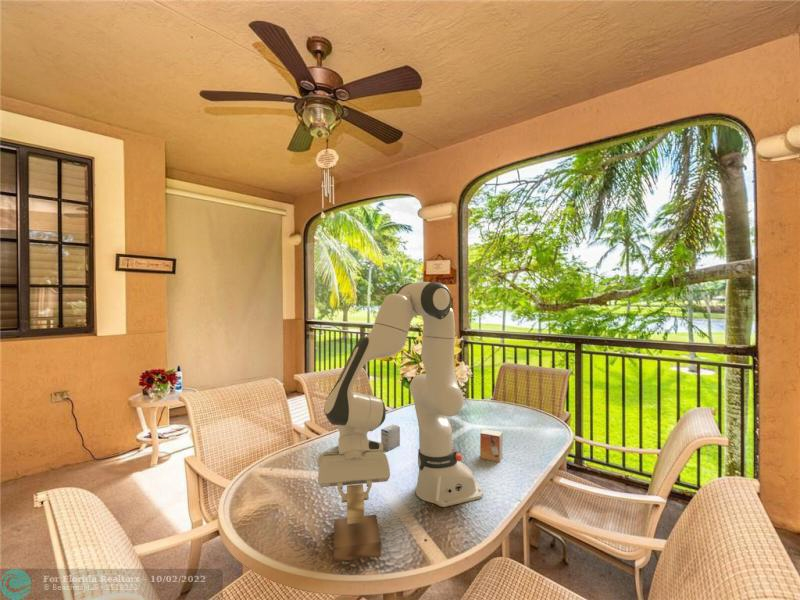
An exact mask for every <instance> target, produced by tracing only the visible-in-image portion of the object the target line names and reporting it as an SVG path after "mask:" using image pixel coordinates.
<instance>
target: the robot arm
mask: <svg viewBox="0 0 800 600" xmlns="http://www.w3.org/2000/svg"><path fill="white" fill-rule="evenodd" d="M378 309H379V310H378V311H377V314H376V317H375V319H374V323H373V326H372V328H371V330H370V331H369V333H367V335H366V336H365V337H361V338H360V339H358V341H357V342H356V344H355V345H354V347H353V349H352V351H351V353H350V355H349V356H348V359H347V360H346V362H345V365H344V367H343V369H342V371H341V373H340V375H339V376H338V379H337V381H336V383H335V384H334V386H333V388H332V390H331V391H330V393H329V394H328V396H327V398H326V400H325V402H324V405H323V413H324V415H325V418H326V419H327V421H328V422H329V423H330V424H332V425H333V426H337V427H338V428H337V429H338V432H339V437H338V439H337V440H338V445H337V446H338V450H334V451H329V452H327V451H324V452H322V454H321V453H320V454H319V456H318V458H317V462H316V463H317V467H318V475H317V484H318V486H319V487H320V488H330V487H336V489H337V492H338V493H339V495H340V496H341V503H347V492H346V493H344V491H343V486H347V485H359V484H366V485H365V487H366V490H365V491H364V501H369V497H370V495H369V493H370V491H371V489H372V485H373V483H386V482H388V481H389V479H390V477H391V472H390V470H391V469H390V465H389V460H388V457H387V455H386V453H385V452H384V449H383V444H382V443H381V442H379V441H375V440H371V439H368V433H369V432H373V431H375V430H376V429H378V428H380V426H381V425H382V424H383V423H384V422H385V420H386V415H387V412H386V406H385V402H384V401H383V399H382V398H380V397H378V396H374V395H370V394H364V393H361V392H360V393H359V392H356V391H353V390H354V389H353V388H354V387H355V384H356V383H357V381H358V378H359V376H360V374H361V372H362V370H363V368H364V366H365V365H366V364H367V363H369V362H370V361H372V360H377V359H382V358H383V359H384V358H389V357H392V356H395V355H397V354H398V353H400V352H401V351H402V350H403V349H404V347H405V344H406V341H407V338H408V335H409V331H410V327H411V322H412V320H413V319H414V318H415V316H420V317H421V319H422V320H423V329H422V338H421V339H422V341H421V354H420V356H421V357H420V358H421V362H422V365H423V367H424V372H425V373H420V374H417V375H415V376H414V377H413V378H412V379H411V381H410V384H409V392H410V394H411V396H412V399H413V404H414V409H415V413H416V418H417V423H418V437H419V438H418V440H419V445H418V446H419V448H418V451H417V452H418V453H417V464H418V476H417V483H416V487H415V489H414V491H415V492H414V493H415V494H416V496H417V497H418V498H419V499H421V500H422V501H426V502H428V503H432V504H434V505H436V506H439V507H442V508H447V507H449V506H454V505H458V504H463V503H466V502H471V501H474V500H478V499H481V498H483V489H482V486H481V485H480V484H479V482H478V481H477V480H476V479H475V476H474V473H473V472H472V470H471V469H470V467H469V466H468V465H466V464H464V463H463V462H462V461H463V456H462V455H461V453H460V452H458V451H457V450H456V449H455V448H454V447H453V430H452V429H453V428H452V425H451V423H450V421H449V419H448V418H449V417H454V416H456V415H458V414H459V413H460V412H461V410H462V409H463V405H464V395H463V392H462V391H461V388H460V386H459V383H458V379H457V373H456V369H455V367H456V366H455V346H456V345H455V344H456V320H455V319H456V318H455V312H454V310H453V308H452V296H451V291H450V290H449V288H448V287H447V286H446V285H445V284H443V283H441V282H436V281H432V282H431V281H419V282H418V281H417V282H413V283H410V282H409V283H405V284H402V285H401V286H399V288H397V290H396V292H395V293H390V294H388V295H386V296H385V297H384V299H383V301H382V303H381V305H380V306H379V308H378ZM332 425H331V426H332Z"/></svg>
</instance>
